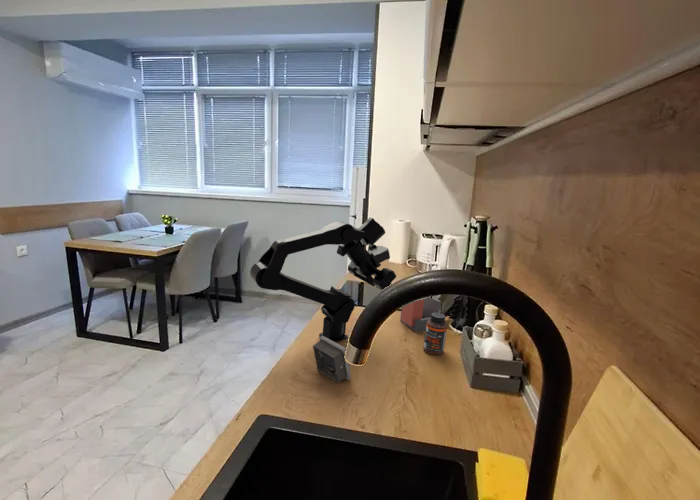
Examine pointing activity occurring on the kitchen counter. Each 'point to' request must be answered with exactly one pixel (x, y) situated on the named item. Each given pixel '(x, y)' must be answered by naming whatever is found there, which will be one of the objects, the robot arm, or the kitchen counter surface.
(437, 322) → the supplement bottle
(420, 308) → the pink block with dome
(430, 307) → the housing
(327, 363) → the electrical switch
